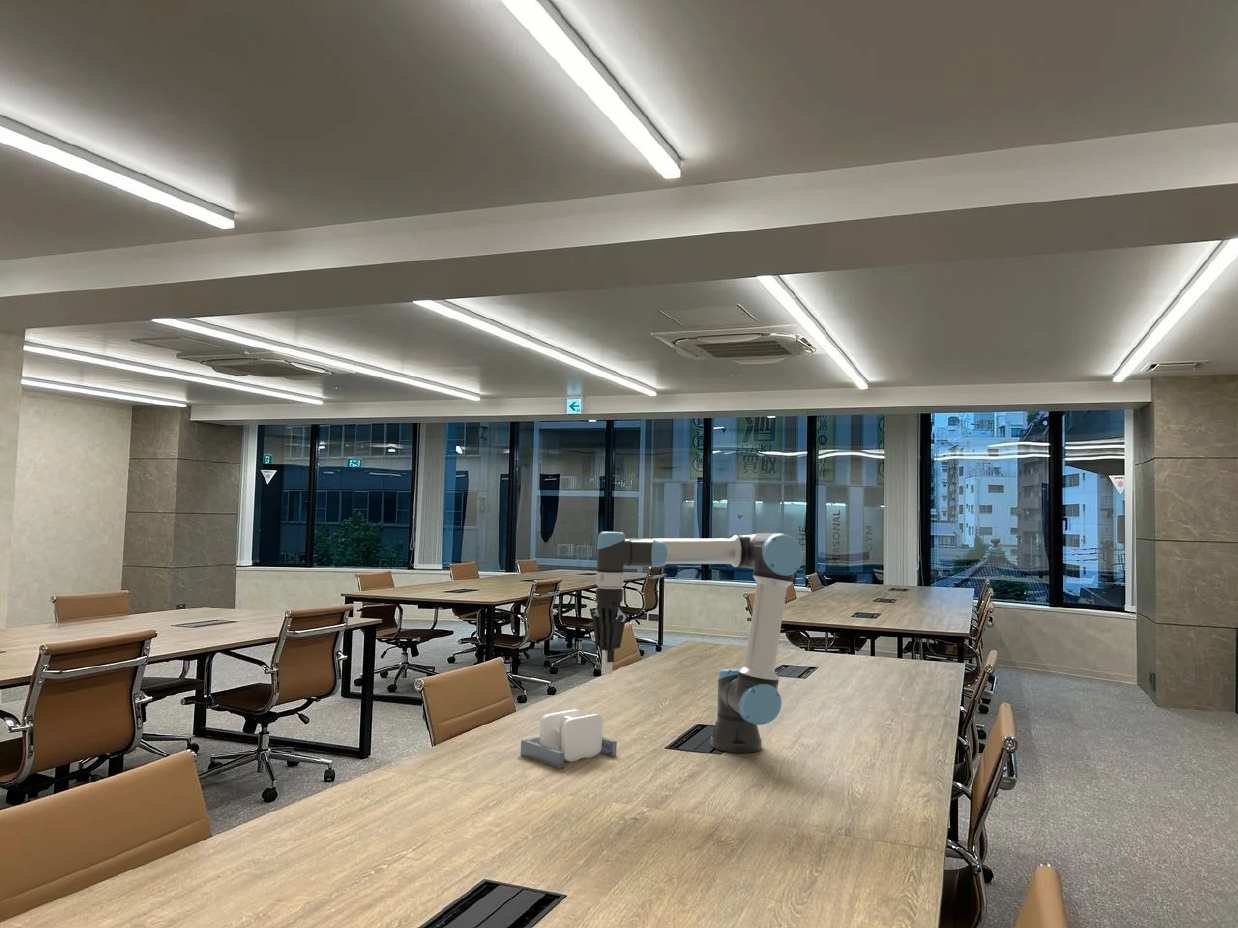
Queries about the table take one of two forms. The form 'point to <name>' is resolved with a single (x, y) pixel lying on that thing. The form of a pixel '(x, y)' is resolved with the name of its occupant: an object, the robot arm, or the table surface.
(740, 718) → the robot arm
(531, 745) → the bracket
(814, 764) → the table surface
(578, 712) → the cable organizer
